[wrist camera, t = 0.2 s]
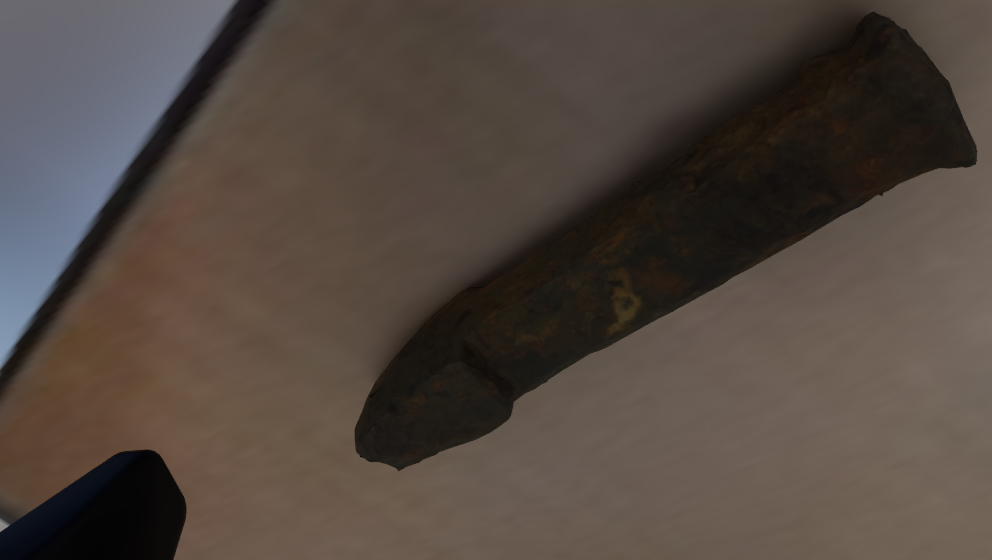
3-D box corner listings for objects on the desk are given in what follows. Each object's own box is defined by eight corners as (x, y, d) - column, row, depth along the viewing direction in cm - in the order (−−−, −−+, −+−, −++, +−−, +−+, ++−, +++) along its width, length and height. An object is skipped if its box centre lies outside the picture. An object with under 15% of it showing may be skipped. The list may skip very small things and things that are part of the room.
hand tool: (875, -18, 19) (942, 32, 15) (944, 115, 20) (1021, 192, 16) (322, 328, 27) (270, 420, 23) (399, 407, 28) (363, 507, 24)
